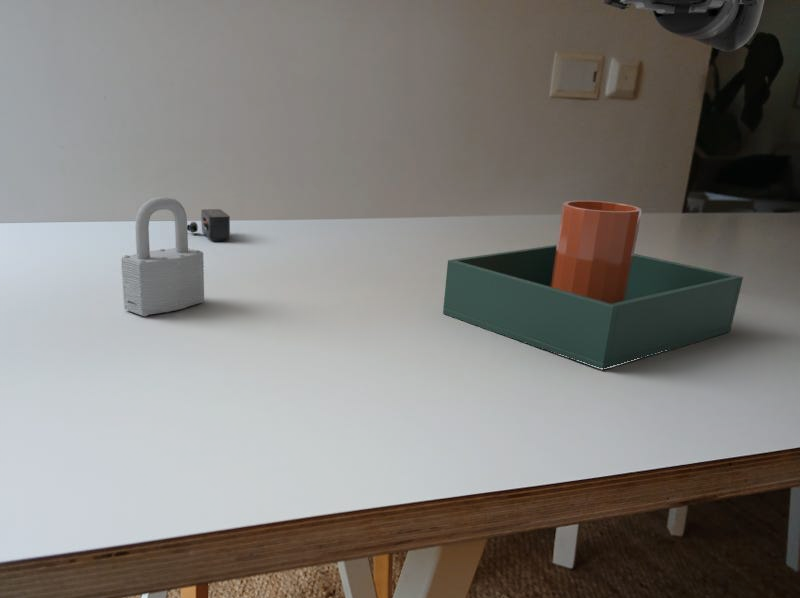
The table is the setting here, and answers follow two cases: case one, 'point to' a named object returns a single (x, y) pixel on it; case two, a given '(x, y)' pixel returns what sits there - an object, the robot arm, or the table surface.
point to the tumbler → (596, 249)
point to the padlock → (162, 266)
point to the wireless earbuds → (213, 225)
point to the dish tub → (591, 305)
